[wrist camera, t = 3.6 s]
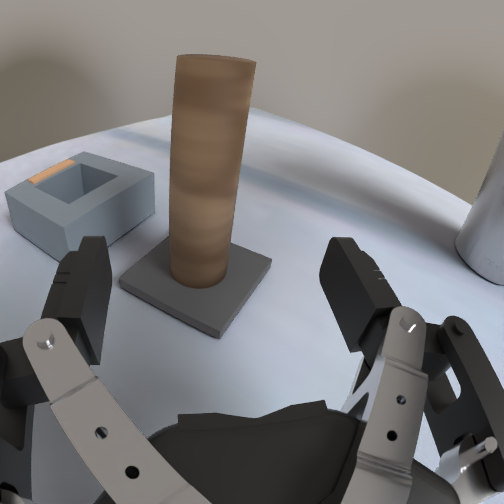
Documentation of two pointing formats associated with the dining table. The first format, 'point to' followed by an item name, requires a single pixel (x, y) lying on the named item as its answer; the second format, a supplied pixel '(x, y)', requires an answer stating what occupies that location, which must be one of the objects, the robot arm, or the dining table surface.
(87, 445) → the robot arm
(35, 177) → the socket block
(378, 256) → the dining table surface
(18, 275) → the dining table surface
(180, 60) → the walnut peg
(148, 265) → the pad
